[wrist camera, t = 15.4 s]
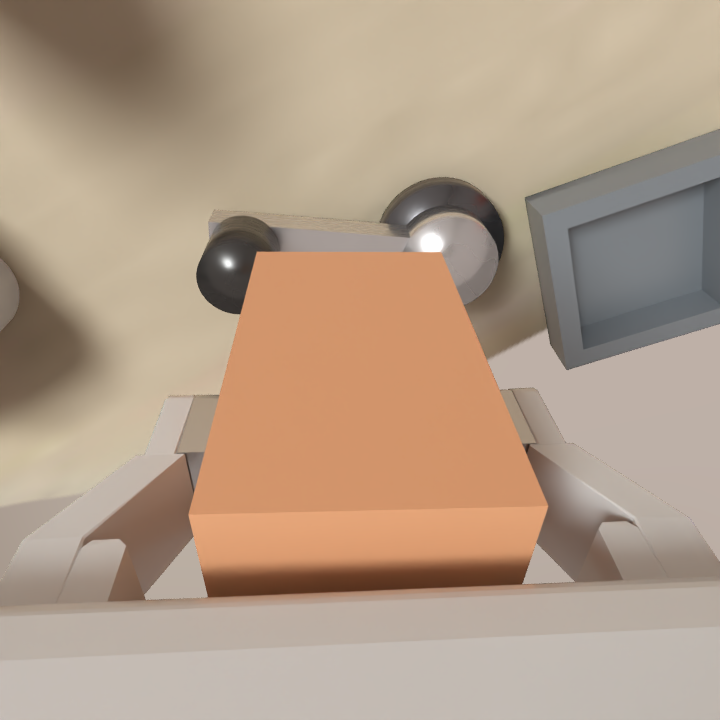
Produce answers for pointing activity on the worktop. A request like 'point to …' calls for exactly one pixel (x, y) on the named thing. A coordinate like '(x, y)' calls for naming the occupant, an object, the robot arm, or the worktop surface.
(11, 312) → the grey animal paw
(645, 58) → the worktop surface
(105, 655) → the robot arm
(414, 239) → the crank
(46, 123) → the worktop surface
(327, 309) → the block
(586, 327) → the tray
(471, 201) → the crank base
